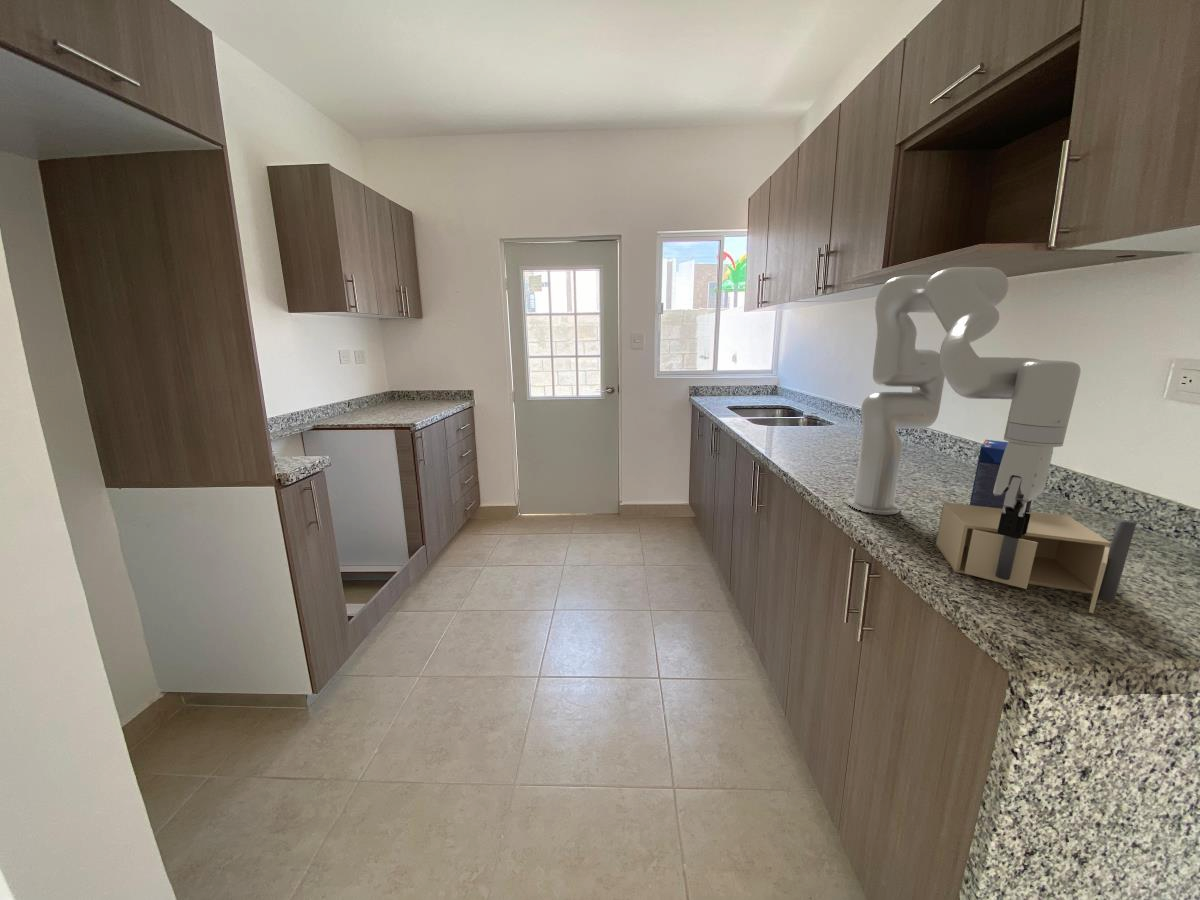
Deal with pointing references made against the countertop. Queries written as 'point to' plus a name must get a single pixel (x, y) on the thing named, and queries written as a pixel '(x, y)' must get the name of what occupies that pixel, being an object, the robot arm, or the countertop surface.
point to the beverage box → (988, 475)
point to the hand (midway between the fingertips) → (1011, 533)
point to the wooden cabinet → (1062, 542)
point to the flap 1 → (1000, 558)
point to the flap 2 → (1113, 564)
